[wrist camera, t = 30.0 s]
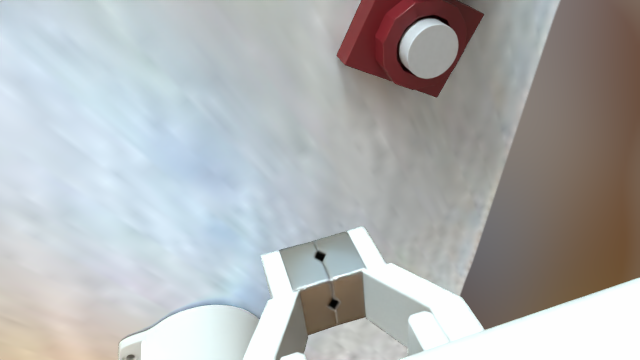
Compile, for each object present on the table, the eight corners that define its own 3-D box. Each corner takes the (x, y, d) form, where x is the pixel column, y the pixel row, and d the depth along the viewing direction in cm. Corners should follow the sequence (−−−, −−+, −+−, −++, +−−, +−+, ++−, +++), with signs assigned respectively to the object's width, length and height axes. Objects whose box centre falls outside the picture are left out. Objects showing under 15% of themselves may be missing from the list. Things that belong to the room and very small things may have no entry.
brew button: (430, 77, 42) (440, 85, 41) (389, 61, 40) (397, 69, 39) (457, 28, 41) (468, 35, 39) (415, 9, 39) (425, 16, 37)
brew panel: (426, 88, 47) (447, 106, 44) (336, 55, 43) (352, 73, 40) (470, 7, 44) (496, 20, 41) (378, -38, 39) (399, -27, 36)
